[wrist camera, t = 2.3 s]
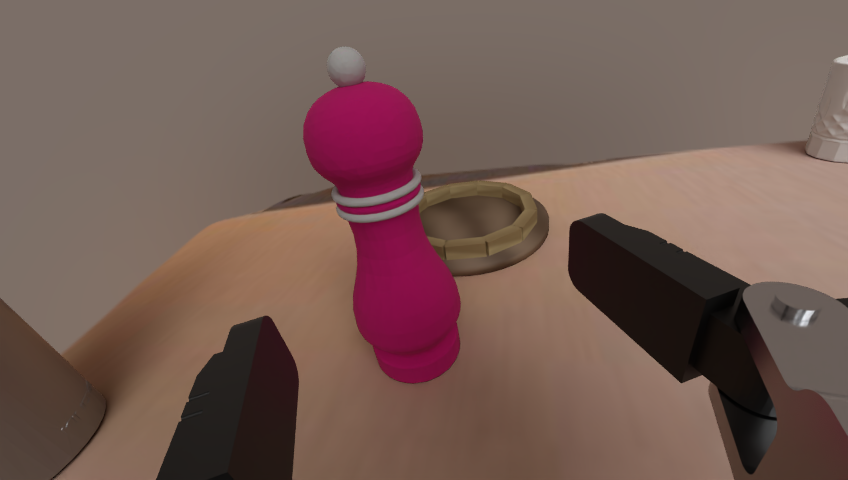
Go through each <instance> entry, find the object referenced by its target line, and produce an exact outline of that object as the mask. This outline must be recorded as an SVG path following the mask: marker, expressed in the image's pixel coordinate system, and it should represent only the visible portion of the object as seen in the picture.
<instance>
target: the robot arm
mask: <svg viewBox="0 0 848 480" xmlns="http://www.w3.org/2000/svg"><path fill="white" fill-rule="evenodd" d="M568 271H569V276H570V279H571V281H572V283H573V285H574V286H575V287H576V289H577V290H578V291H579V292H580V293H582V294H583V295H584V296H585V297H586V298H587V299H588V300H589V301H590V302H592V303H593V304H594V305H595V306H596V307H597V308H598V309H599V310H600V311H602V312H603V313H604V314H605V315H606V316H607V317H608V318H609V319H610V320H612V321H613V322H614V323H615V324H616V325H617V326H618V327H619V328H620V329H622V330H623V331H624V332H625V333H626V334H627V335H628V336H629V337H630V338H632V339H633V340H634V341H635V342H636V343H637V344H638V345H639V346H640V347H642V348H643V349H644V350H645V351H646V352H647V353H648V354H649V355H650V356H652V357H653V358H654V359H655V360H656V361H657V362H658V363H659V364H660V365H662V366H663V367H664V368H665V369H666V370H667V371H668V372H669V373H670V374H672V375H673V376H674V377H675V378H676V379H677V380H678V381H679V382H680V383H683V382H686V381H688V380H691V379H693V378H696V377H698V376H701V375H703V376H704V377H706V378H707V379H708V380H709V381H711V382H710V384H709V389H708V392H709V397H710V400H711V403H712V407H713V410H714V413H715V417H716V420H717V423H718V427H719V430H720V433H721V437H722V440H723V443H724V447H725V450H726V453H727V457H728V460H729V463H730V467H731V470H732V473H733V477H734V480H848V298H842V299H834V298H832V297H830V296H828V295H826V294H824V293H822V292H819V291H817V290H814V289H811V288H808V287H804V286H800V285H796V284H790V283H783V282H761V283H756V284H753V285H750V284H748V283H746V282H744V281H742V280H740V279H738V278H736V277H735V276H733V275H731V274H729V273H727V272H725V271H723V270H721V269H719V268H717V267H715V266H714V265H712V264H710V263H708V262H706V261H704V260H702V259H700V258H698V257H696V256H695V255H693V254H691V253H689V252H683V249H681V248H679V247H677V246H676V245H674V244H672V243H669V244H668V243H667V241H666V240H664V239H662V238H660V237H658V236H656V235H655V234H653V233H651V232H649V231H646V230H642V229H639V228H635V227H631V226H628V225H624V224H623V223H621V222H619V221H617V220H615V219H613V218H612V217H610V216H608V215H606V214H603V213H599V214H596V215H593V216H590V217H586V218H583V219H580V220H577V221H574V222H573V223H572V224H571V226H570V232H569V261H568ZM298 387H299V378H298V371H297V367H296V364H295V361H294V359H293V357H292V355H291V353H290V351H289V349H288V347H287V346H286V344H285V342H284V340H283V338H282V337H281V335H280V333H279V331H278V329H277V327H276V326H275V324H274V322H273V320H272V319H271V318H270V317H269V316H263V317H260V318H257V319H253V320H250V321H247V322H244V323H240V324H237V325H234V326H233V327H232V328H231V330H230V332H229V335H228V338H227V341H226V344H225V347H224V350H223V352H221V353H217V354H214V355H213V356H212V358H211V359H210V360H209V361H208V363H207V364H206V365H205V366H204V368H203V369H202V370H201V371H200V373H199V374H198V375H197V377H196V380H195V382H194V385H193V387H192V390H191V392H190V395H189V397H188V398H189V402H187V403H186V405H185V408H184V410H183V413H182V415H181V419H182V420H181V422H179V423H178V425H177V428H176V430H175V433H174V435H173V438H172V441H171V443H170V446H169V448H168V451H167V453H166V456H165V458H164V461H163V463H162V466H161V468H160V471H159V474H158V476H157V479H156V480H292V472H293V458H294V444H295V430H296V416H297V402H298ZM105 409H106V401H105V398H104V397H103V395H102V394H101V393H100V392H99V391H98V390H97V389H96V388H95V387H93V386H92V384H91V383H89V382H88V381H87V380H86V379H85V378H84V377H83V376H82V375H81V374H80V373H79V372H78V371H77V370H76V369H74V368H73V367H72V366H71V365H70V364H69V363H68V361H66V360H65V359H64V358H63V357H62V356H61V355H60V354H59V353H58V352H57V351H56V350H55V349H54V348H53V347H52V346H50V345H49V344H48V343H47V342H46V341H45V340H44V339H43V338H42V337H41V336H40V335H39V334H38V333H37V332H36V331H35V330H34V329H33V328H32V327H30V326H29V325H28V324H27V323H26V322H25V321H24V320H23V319H22V318H21V317H20V316H19V315H18V314H17V313H16V312H15V311H13V310H12V309H11V308H10V307H9V306H8V305H7V304H6V303H5V302H4V301H3V300H2V299H1V298H0V480H50V479H51V478H53V477H54V476H55V475H56V474H57V473H58V472H59V471H61V470H62V469H63V468H64V467H65V466H66V465H67V464H68V463H69V462H70V461H71V460H72V459H73V458H74V457H75V456H76V455H77V454H78V453H79V451H80V450H81V449H82V448H83V447H84V446H85V445H86V444H87V442H88V441H89V440H90V438H91V437H92V435H93V434H94V433H95V431H96V430H97V428H98V426H99V424H100V422H101V420H102V419H103V416H104V413H105Z"/></svg>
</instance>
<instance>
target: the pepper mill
mask: <svg viewBox="0 0 848 480" xmlns="http://www.w3.org/2000/svg"><path fill="white" fill-rule="evenodd" d="M327 70H328V74H329V76H330V78H331V80H332V81H333V82H334V83H335V84H336V85H338V86H339V87H337V88H335V89H332V90H331V91H329V92H327V93H325V94H324V95H323V96H321V97H320V98H318V100H317V101H316V102H315V103H314V104H313V105H312V107H311V108H310V110H309V111H308V113H307V116H306V119H305V122H304V130H303V139H304V144H305V148H306V153H307V155H308V158H309V160H310V162H311V164H312V166H313V168H314V169H315V170H316V171H317V172H318V173H319V174H320V175H321V176H323V177H324V178H325V179H327V180H328V181H330V182H332V183H333V184H334V185H335V187H334V188H333V190H332V198H333V200H334V201H335V202H336V204H337V208H336V210H337V213H338V215H339V216H340V217H341V218H343V219H344V220H347V221H348V222H349V224H350V227H351V229H352V232H353V234H354V238H355V243H356V248H357V273H356V280H355V286H354V293H353V310H354V314H355V318H356V322H357V326H358V329H359V331H360V333H361V334H362V336H363V337H364V338H365V340H367V341H368V342H369V343H370V344H371V345H373V348H374V351H375V354H376V357H377V360H378V363H379V365H380V367H381V369H382V370H383V371H384V372H385V374H387V375H388V376H389V377H391V378H393V379H395V380H397V381H400V382H405V383H419V382H426V381H429V380H432V379H434V378H436V377H438V376H440V375H441V374H442V373H444V372H445V371H447V370H448V369H449V368H450V367H451V365H452V364H453V363H454V361H455V360H456V358H457V355H458V353H459V349H460V340H459V333H458V328H457V323H456V321H457V319H458V316H459V313H460V304H461V303H460V296H459V292H458V289H457V285H456V282H455V280H454V278H453V276H452V274H451V272H450V270H449V268H448V267H447V266H446V264H445V263H444V262H443V261H442V259H441V258H440V257H439V255H438V254H437V253H436V251H435V250H434V248H433V247H432V245H431V244H430V242H429V240H428V238H427V236H426V233H425V231H424V228H423V225H422V221H421V218H420V213H419V203H420V201H421V200H422V198H423V195H424V189H423V187H422V186H421V184H420V181H421V174H420V172H419V171H418V170H417V169H415V168H413V165H414V163H415V161H416V159H417V157H418V156H419V154H420V151H421V148H422V143H423V130H422V126H421V122H420V119H419V116H418V114H417V112H416V109H415V107H414V105H413V104H412V103H411V102H410V100H409V99H408V97H406V96H405V95H404V94H403V93H402V92H400V91H399V90H398V89H396V88H394V87H392V86H389V85H386V84H382V83H377V82H368V81H367V82H362V81H363V79H364V77H365V73H366V67H365V62H364V60H363V58H362V56H361V55H360V54H359V53H358V52H357V51H356V50H355V49H353V48H350V47H339V48H337V49H335V50H334V51H333V52H331V54H330V56H329V58H328V61H327Z"/></svg>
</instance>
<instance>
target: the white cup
mask: <svg viewBox="0 0 848 480" xmlns="http://www.w3.org/2000/svg"><path fill="white" fill-rule="evenodd" d="M805 150H806V153H807V154H808V155H811V156H813V157H815V158H819V159H823V160H826V161H827V160H828V161H833V162H842V163H848V55H847V56H842V57H839V58H836V59H834V60H833V63H832V66H831V69H830V72H829V75H828V78H827V81H826V83H825V86H824V89H823V92H822V95H821V98H820V101H819V104H818V107H817V111H816V115H815V117H814V120H813V123H812V131H811V133H810V136H809V138H808V141H807V144H806V147H805Z"/></svg>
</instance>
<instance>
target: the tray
mask: <svg viewBox="0 0 848 480" xmlns="http://www.w3.org/2000/svg"><path fill="white" fill-rule="evenodd" d="M419 213H420V218H421V221H422V225H423V228H424V231H425V233H426V236H427V238H428V240H429V242H430V244H431V245H432V247H433V248H434V250H435V251H436V253H437V254H438V255H439V257H440V258H441V259H442V261H443V262H444V263H445V264H446V266H447V267H448V268H449V270H450V272H451V274H452V276H470V275H478V274H484V273H489V272H494V271H497V270H500V269H504V268H506V267H509V266H512V265H514V264H516V263H518V262H520V261H522V260H524V259H526V258H527V257H529V256H530V255H532V254H533V253H534V252H535V251H537V250H538V249H539V248H540V247H541V245H542V244H543V243H544V241H545V239H546V238H547V235H548V231H549V216H548V213H547V211H546V209H545V208H544V206H543V205H542V204H541V203H540V202H538V201H537V200H536V199H534V198H532V195H531V193H529V192H527V191H525V190H523V189H520V188H518V187H516V186H514V185H511V184H507V183H501V182H490V181H471V182H463V183H455V184H448V185H444V186H442V187H439V188H436V189H433V190H430V191H427V192H424V195H423V198H422V200H421V201H420V203H419Z"/></svg>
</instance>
